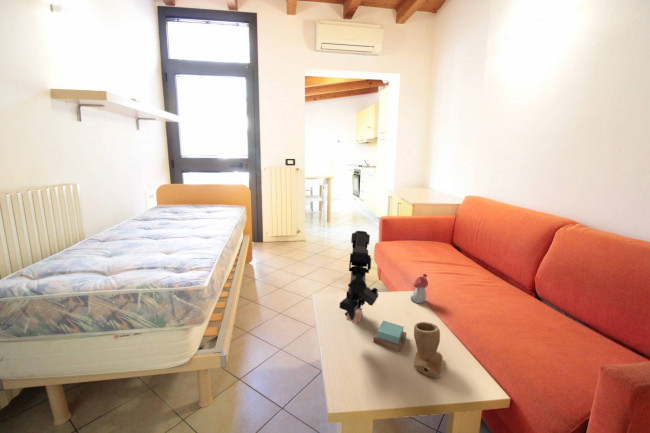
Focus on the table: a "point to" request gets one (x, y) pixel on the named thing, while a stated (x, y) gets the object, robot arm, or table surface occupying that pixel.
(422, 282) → the decorative ornament
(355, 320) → the terracotta cube
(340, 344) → the table surface
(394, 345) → the tower base
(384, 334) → the tower top
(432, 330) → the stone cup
